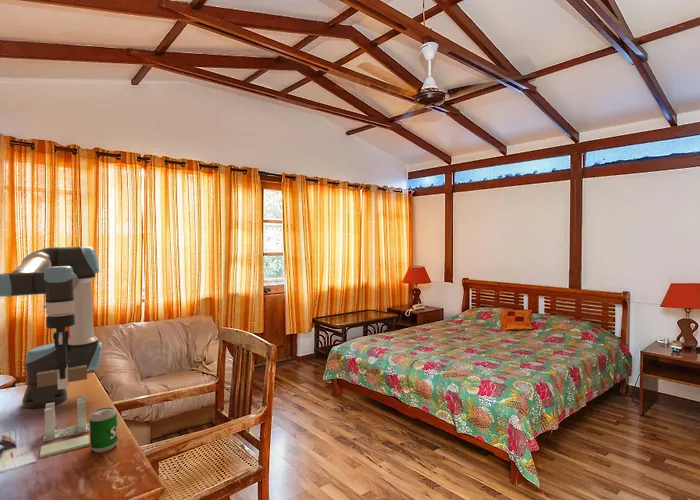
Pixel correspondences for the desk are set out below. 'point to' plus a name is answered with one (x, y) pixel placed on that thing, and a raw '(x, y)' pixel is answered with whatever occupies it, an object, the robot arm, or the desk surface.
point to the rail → (51, 376)
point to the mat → (64, 446)
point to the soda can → (103, 429)
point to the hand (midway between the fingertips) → (63, 386)
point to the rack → (68, 431)
